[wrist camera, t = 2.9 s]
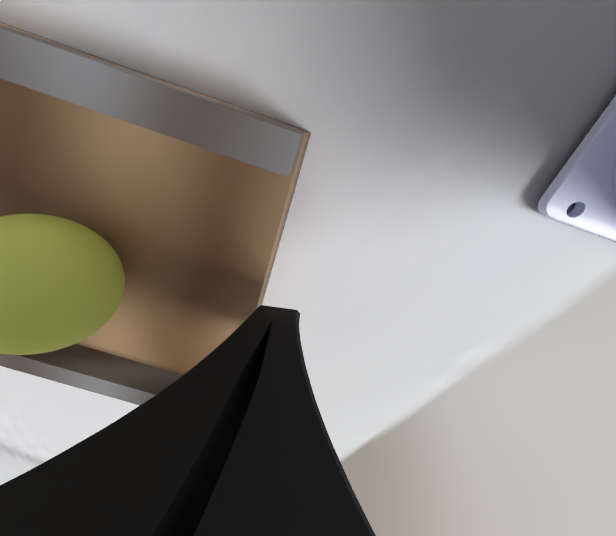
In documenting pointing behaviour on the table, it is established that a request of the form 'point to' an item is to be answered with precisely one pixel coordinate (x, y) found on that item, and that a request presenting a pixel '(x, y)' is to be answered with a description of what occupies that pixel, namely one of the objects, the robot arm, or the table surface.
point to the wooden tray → (144, 205)
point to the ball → (54, 283)
